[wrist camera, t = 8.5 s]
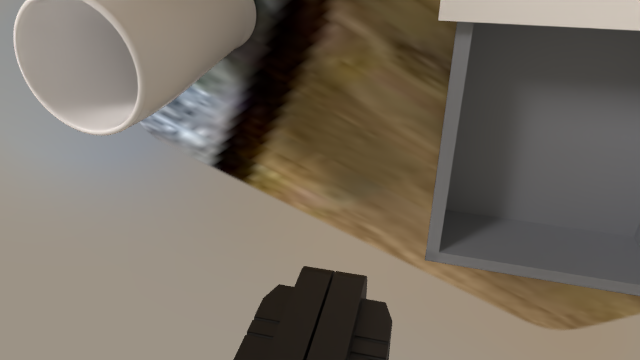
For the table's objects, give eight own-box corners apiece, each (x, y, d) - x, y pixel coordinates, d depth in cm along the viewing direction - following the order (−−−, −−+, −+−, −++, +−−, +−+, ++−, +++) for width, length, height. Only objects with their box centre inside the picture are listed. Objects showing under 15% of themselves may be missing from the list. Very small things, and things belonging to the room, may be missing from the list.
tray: (640, 243, 33) (670, 301, 28) (431, 212, 36) (424, 259, 31) (758, -45, 24) (831, -34, 19) (466, -50, 27) (465, -41, 22)
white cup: (181, -53, 32) (-4, -30, 20) (274, -32, 31) (141, 6, 19) (180, 45, 36) (23, 117, 23) (264, 67, 35) (146, 154, 22)
